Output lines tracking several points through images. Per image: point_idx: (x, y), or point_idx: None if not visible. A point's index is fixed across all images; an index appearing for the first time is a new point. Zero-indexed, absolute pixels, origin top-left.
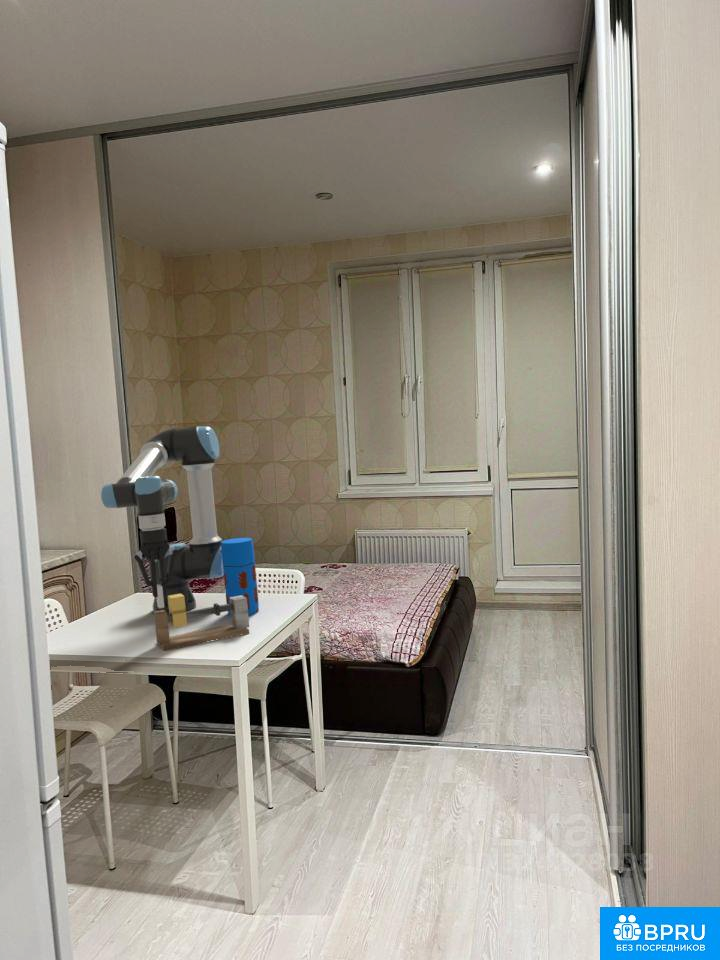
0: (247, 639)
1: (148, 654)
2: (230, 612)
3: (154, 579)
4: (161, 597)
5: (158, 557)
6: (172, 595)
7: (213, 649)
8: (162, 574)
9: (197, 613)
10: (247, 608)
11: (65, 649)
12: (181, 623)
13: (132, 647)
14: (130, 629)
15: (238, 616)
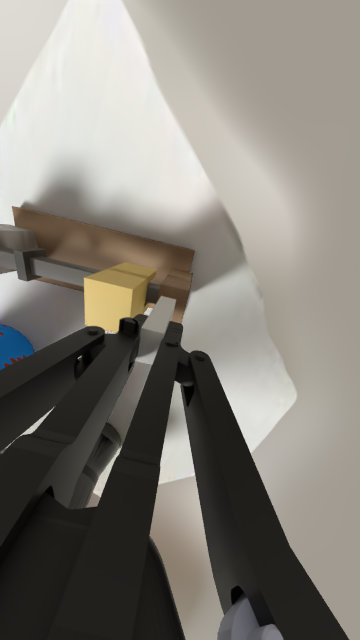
0: (31, 159)
1: (225, 256)
2: (27, 349)
3: (165, 359)
4: (160, 309)
5: (26, 534)
6: (114, 324)
7: (116, 151)
8: (110, 361)
9: (84, 268)
10: None
11: (283, 400)
12: (136, 266)
13: (219, 325)
14: (173, 407)
15: (2, 228)
